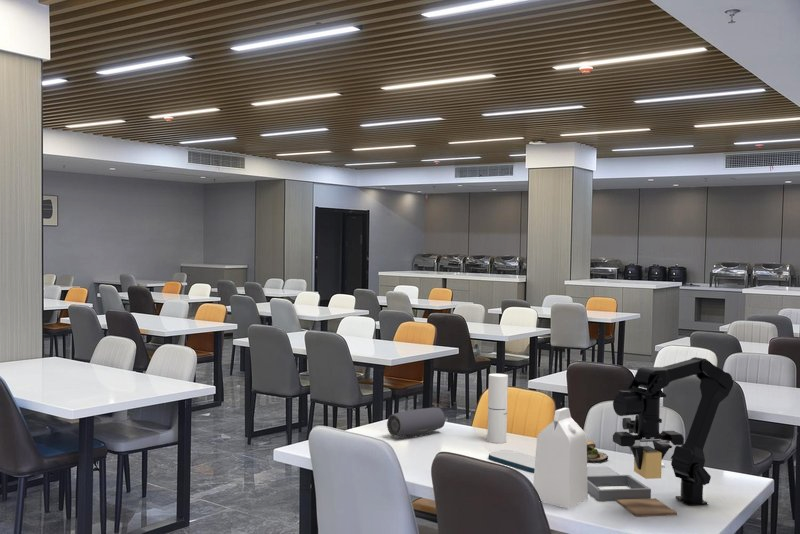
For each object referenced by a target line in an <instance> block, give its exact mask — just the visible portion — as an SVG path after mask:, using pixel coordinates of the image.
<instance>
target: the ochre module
mask: <svg viewBox="0 0 800 534" xmlns="http://www.w3.org/2000/svg"><path fill="white" fill-rule="evenodd" d="M641 446H642V447H643V456H642V466H641V470H639V469H638V467H637V464H636V461H635V458H634V457H633V458H634V459H633V472H635V473H636V474H638V475H639V476H641V477H642V478H644V479H645V480H647V479H650V480H651V479H662V468H661V464H662V461H663V459H662V453H661V452H659V451H657V450H655V449H654V448H653V447H651V446H649V445H641Z"/></svg>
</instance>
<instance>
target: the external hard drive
mask: <svg viewBox="0 0 800 534" xmlns="http://www.w3.org/2000/svg"><path fill="white" fill-rule="evenodd" d="M535 457H536V456H534V455H529V454H527V453H526V454H525V453H523V452H519V451H514V450H510V449H502V450H498V451H497V450H496V451H493V452H489V453H488V459H489V460H490V461H492V462H495V463H498V464H502V465H506V466H509V467H512V468H514V469H515V468H516V469H518V470H522V471H525V472H529V473H531V474H534V469H535Z"/></svg>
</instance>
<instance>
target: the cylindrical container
mask: <svg viewBox="0 0 800 534" xmlns="http://www.w3.org/2000/svg"><path fill="white" fill-rule="evenodd" d="M508 384H509V375H508V374H505V373H489V374H488V388H487V389H488V392H487V393H488V396H487V397H488V401H487V406H488V407H487V434H486V436H487V437H486V438H487V442H488V443H492V444H506V443H507V432H508V431H507V429H508V425H507V424H508V390H509V389H508Z"/></svg>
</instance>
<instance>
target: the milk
mask: <svg viewBox="0 0 800 534" xmlns="http://www.w3.org/2000/svg"><path fill="white" fill-rule="evenodd" d="M553 415H554V418H553V421H552V422H550V423H549V424H548V425H547V426H545V427H544V428H543V429H542V430H541V431H540V432H539V433H538V435H537V437H536V443H535V444H536V448H535V456H534V457H535V469H534V473H533V484H532V485H534V487H535V488H536V490H537V492H538V493H539V495H540V497H541V500H542V502H541V503H545V504H547V505H552V506H556V507H560V508H564V509H568V510H570V509H572V508H573V507H575V506H577V505H578V504H581V503H582V502H584V501H586V500H587V499H588V498H589V497H588V495H589V493H588V488H587V467H588V460H587V442H588V441H587V440H588V437H587V435H586V432H585V431H584V430H583V429H582V427H580V425H579V424H578V423H577V422H576V421H575V420H574V419H573V418H572V415H571V411H570V408H569V407H562V408H558V409H556V410H555V411H554V414H553Z"/></svg>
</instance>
